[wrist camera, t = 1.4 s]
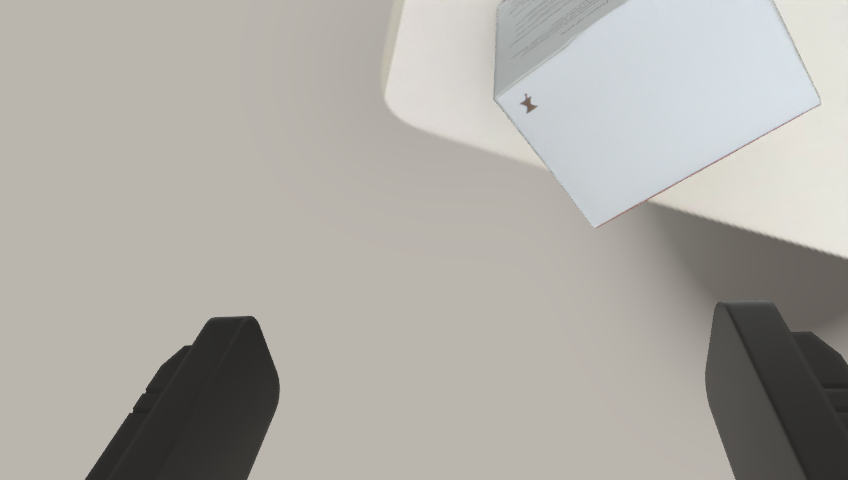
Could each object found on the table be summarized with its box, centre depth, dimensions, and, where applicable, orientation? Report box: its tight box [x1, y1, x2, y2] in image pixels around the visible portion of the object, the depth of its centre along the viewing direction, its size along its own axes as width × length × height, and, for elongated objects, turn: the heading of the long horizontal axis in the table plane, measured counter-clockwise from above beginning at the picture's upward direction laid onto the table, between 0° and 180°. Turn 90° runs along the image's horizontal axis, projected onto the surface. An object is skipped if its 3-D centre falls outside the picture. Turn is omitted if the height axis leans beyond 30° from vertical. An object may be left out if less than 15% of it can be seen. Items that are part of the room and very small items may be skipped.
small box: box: [493, 0, 821, 228], centre depth 24 cm, size 8×6×13 cm
